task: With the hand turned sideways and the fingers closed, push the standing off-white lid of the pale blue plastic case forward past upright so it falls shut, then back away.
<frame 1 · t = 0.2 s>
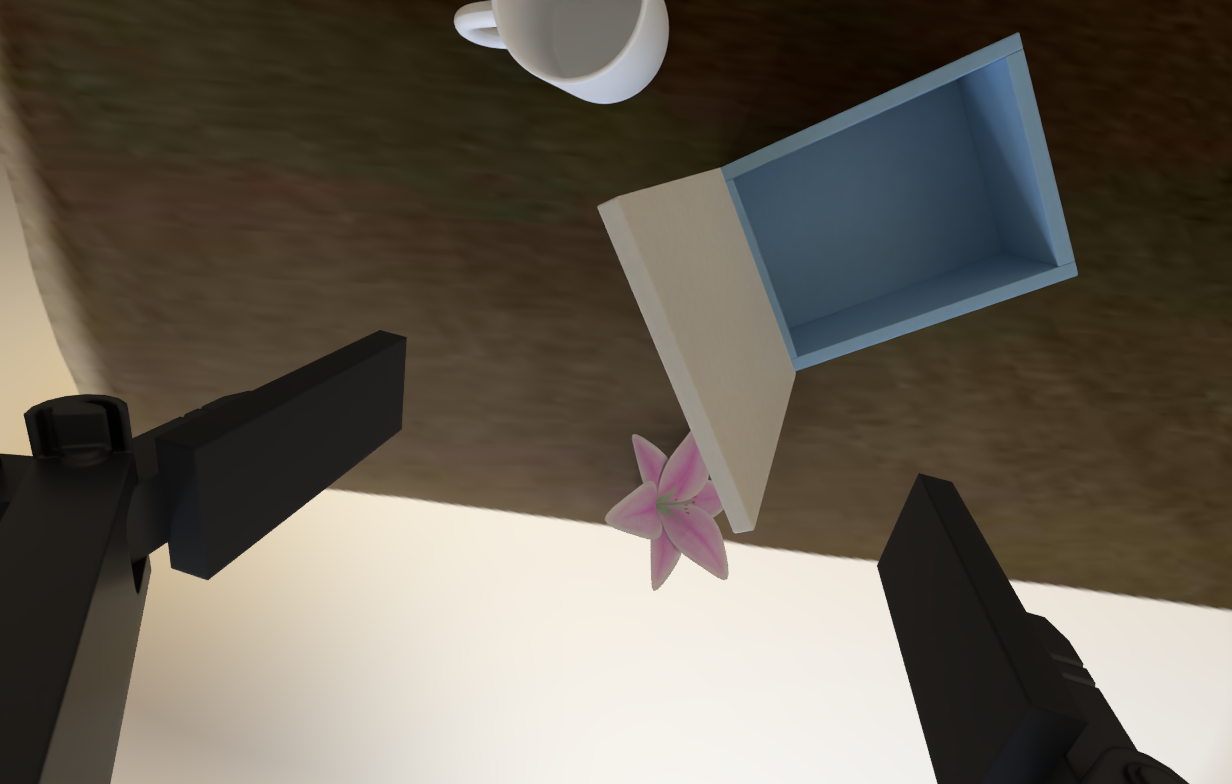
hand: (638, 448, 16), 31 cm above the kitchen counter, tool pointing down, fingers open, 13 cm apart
lily: (681, 477, 50), on the kitchen counter
case lid: (725, 314, 28), point 17 cm above the kitchen counter, hinge at 100.0°
case: (863, 213, 41), on the kitchen counter
cup: (581, 40, 41), on the kitchen counter
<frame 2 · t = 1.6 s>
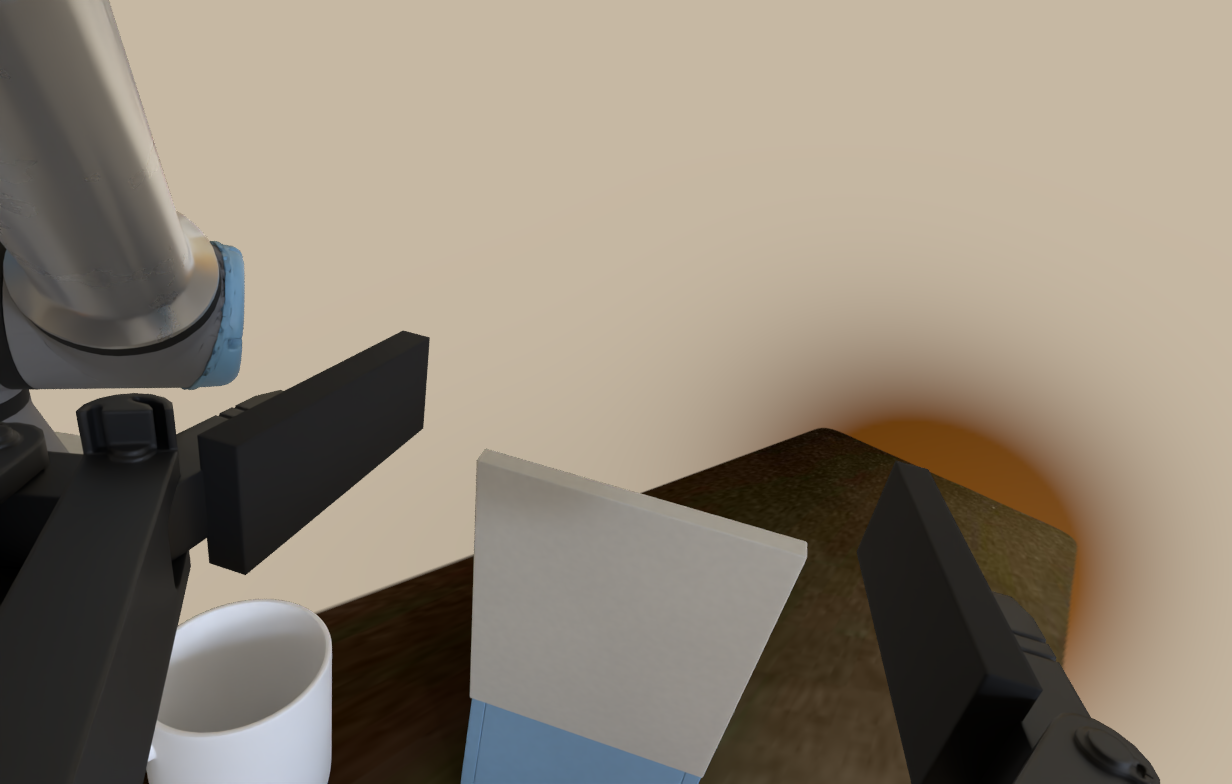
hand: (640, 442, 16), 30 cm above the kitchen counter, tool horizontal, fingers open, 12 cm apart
case lid: (607, 633, 28), point 17 cm above the kitchen counter, hinge at 100.0°
case: (593, 718, 43), on the kitchen counter
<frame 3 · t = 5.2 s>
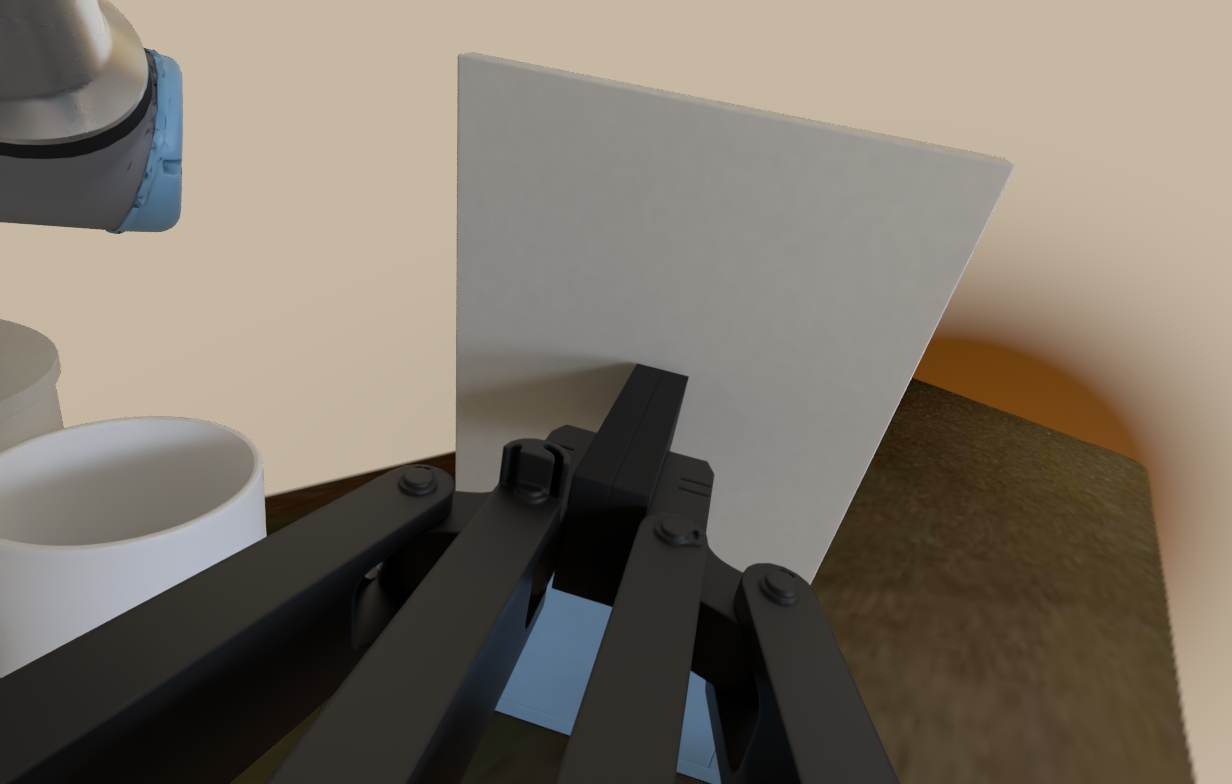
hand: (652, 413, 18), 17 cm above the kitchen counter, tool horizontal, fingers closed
case lid: (656, 400, 19), point 17 cm above the kitchen counter, hinge at 100.0°, touching gripper
case: (616, 614, 34), on the kitchen counter
cup: (103, 715, 24), on the kitchen counter
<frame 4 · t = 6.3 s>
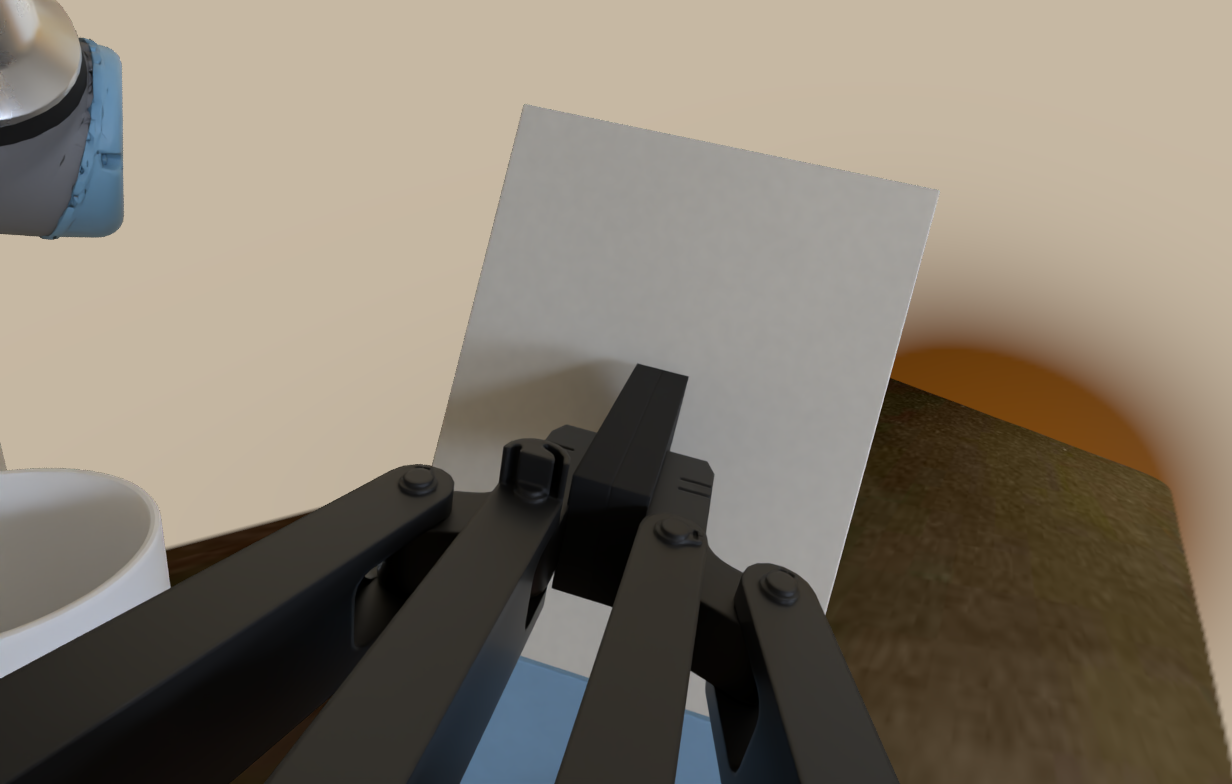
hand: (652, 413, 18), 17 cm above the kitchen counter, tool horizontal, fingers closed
case lid: (653, 413, 19), point 16 cm above the kitchen counter, hinge at 67.7°
case: (597, 677, 30), on the kitchen counter
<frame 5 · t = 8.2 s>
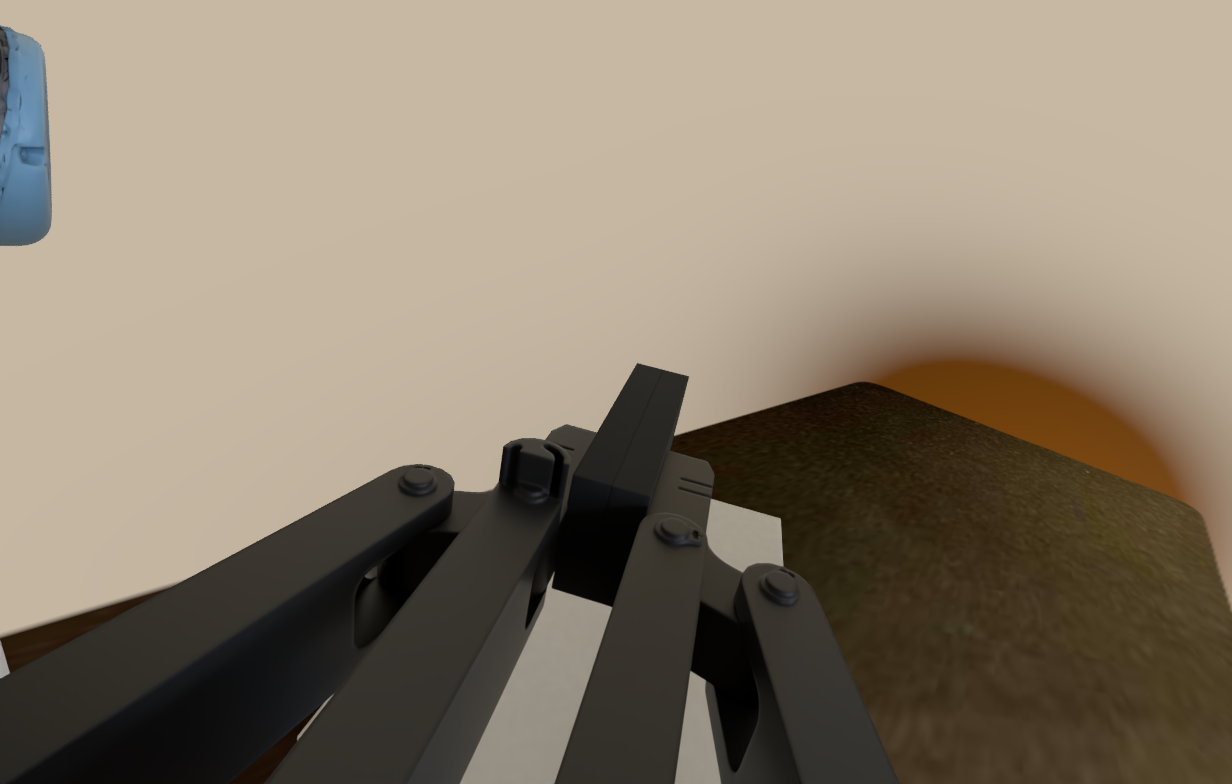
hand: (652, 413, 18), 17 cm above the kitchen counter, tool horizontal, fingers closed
case lid: (610, 602, 22), point 9 cm above the kitchen counter, hinge at -0.2°
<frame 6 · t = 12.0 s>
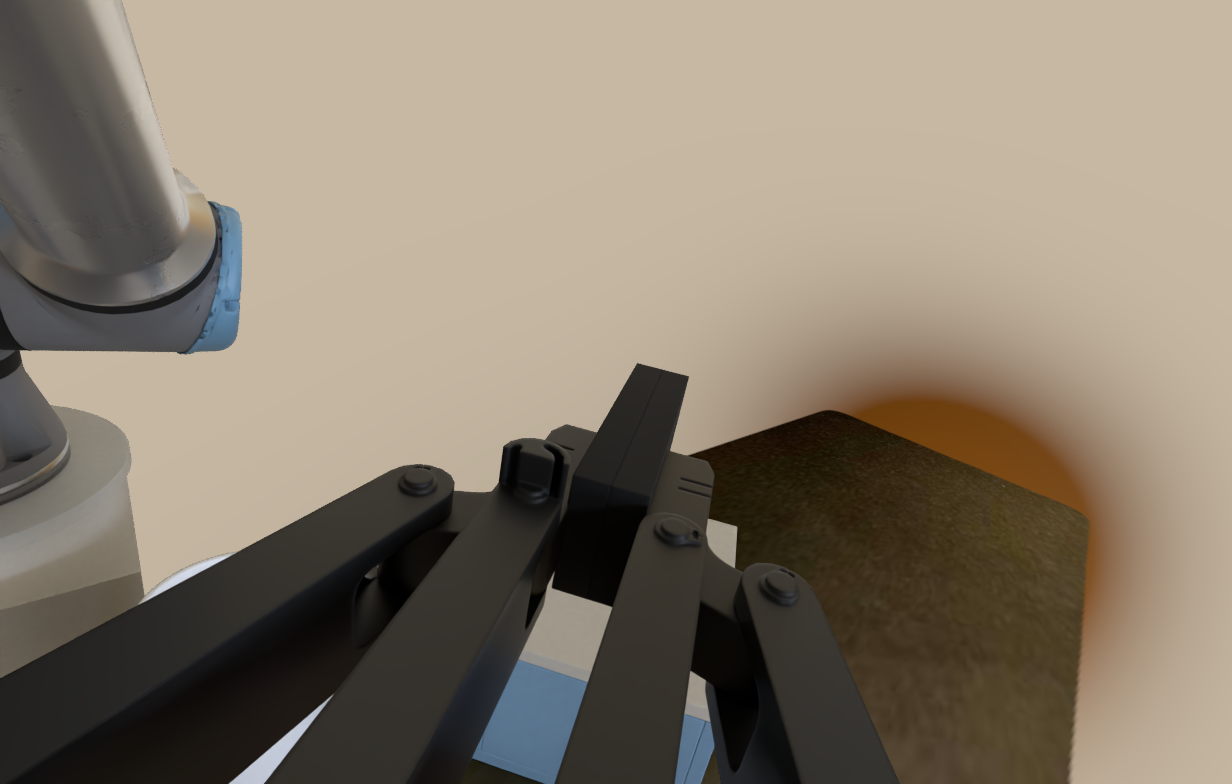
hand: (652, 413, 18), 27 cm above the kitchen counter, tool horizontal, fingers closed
case lid: (631, 576, 38), point 9 cm above the kitchen counter, hinge at -0.2°
case: (604, 683, 41), on the kitchen counter
cup: (211, 779, 32), on the kitchen counter
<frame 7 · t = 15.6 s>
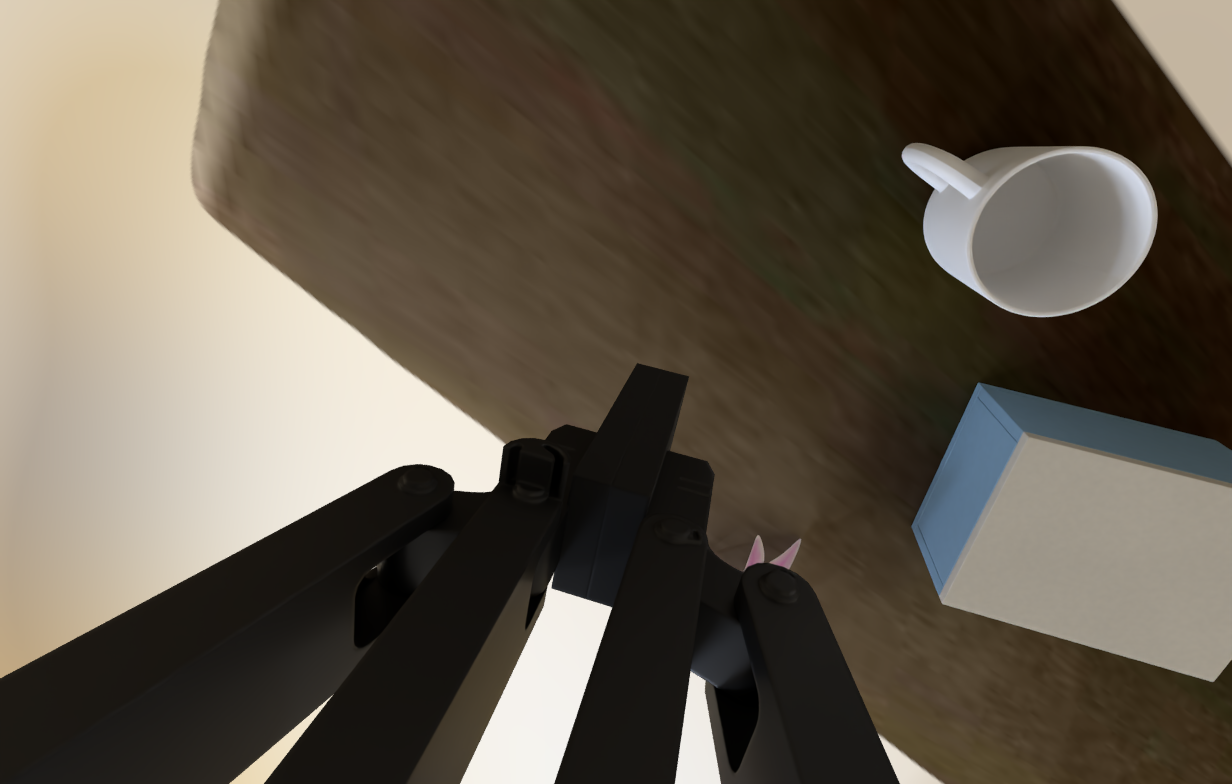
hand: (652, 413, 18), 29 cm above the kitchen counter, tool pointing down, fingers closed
lily: (745, 565, 54), on the kitchen counter
case lid: (1121, 560, 37), point 9 cm above the kitchen counter, hinge at -0.2°
case: (1051, 486, 45), on the kitchen counter
cup: (965, 199, 40), on the kitchen counter
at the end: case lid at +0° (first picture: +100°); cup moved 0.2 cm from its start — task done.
